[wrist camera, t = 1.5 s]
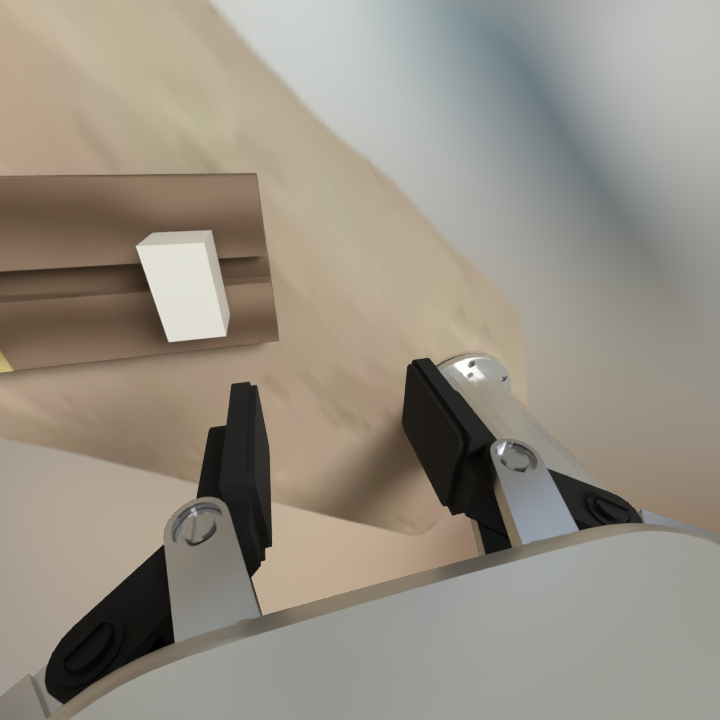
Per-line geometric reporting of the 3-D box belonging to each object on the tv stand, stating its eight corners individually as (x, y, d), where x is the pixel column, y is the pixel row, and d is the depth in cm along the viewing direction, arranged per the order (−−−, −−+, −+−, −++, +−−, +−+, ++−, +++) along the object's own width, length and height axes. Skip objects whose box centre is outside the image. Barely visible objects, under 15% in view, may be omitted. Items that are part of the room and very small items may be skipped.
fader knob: (231, 305, 27) (226, 336, 22) (183, 309, 26) (168, 342, 22) (214, 224, 24) (204, 242, 19) (159, 226, 23) (135, 246, 18)
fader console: (277, 325, 30) (279, 341, 28) (-47, 358, 26) (-81, 381, 23) (256, 173, 24) (255, 176, 22) (-183, 178, 19) (-251, 183, 17)
